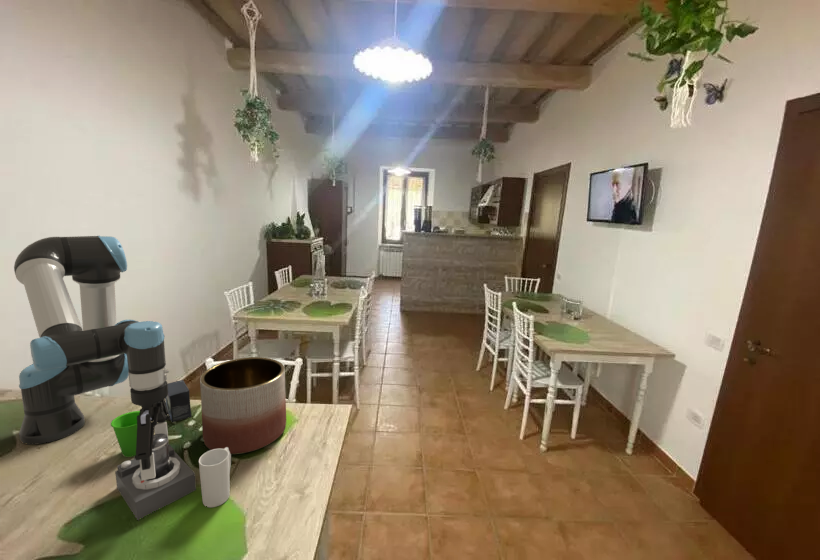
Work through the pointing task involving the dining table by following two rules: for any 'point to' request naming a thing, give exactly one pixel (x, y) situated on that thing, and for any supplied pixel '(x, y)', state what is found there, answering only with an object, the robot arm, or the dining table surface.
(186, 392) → the small box
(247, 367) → the planter
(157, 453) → the lens
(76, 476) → the dining table surface
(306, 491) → the dining table surface
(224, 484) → the mug
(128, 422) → the cup
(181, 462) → the camera body
